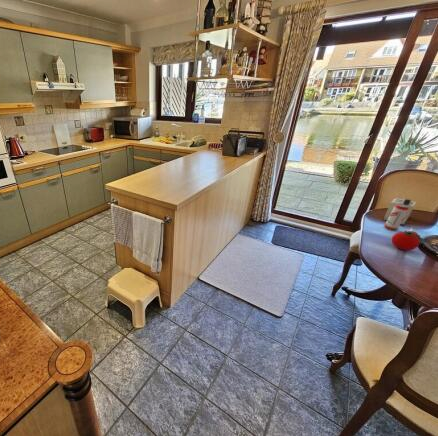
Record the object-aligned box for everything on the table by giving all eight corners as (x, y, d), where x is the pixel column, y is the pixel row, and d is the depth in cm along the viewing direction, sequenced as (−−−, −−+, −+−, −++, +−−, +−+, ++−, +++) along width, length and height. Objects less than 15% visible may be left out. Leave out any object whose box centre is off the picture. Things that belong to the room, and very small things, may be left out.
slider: (409, 204, 154) (411, 199, 153) (408, 205, 153) (410, 200, 152) (403, 203, 156) (406, 198, 155) (403, 204, 155) (405, 199, 153)
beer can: (393, 227, 155) (406, 204, 147) (399, 232, 149) (412, 208, 142) (381, 225, 156) (393, 202, 149) (386, 230, 151) (399, 206, 144)
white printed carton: (407, 220, 163) (416, 202, 157) (403, 225, 156) (412, 207, 151) (387, 215, 170) (395, 197, 165) (382, 220, 164) (390, 202, 158)
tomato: (383, 243, 138) (391, 227, 133) (399, 242, 139) (408, 227, 134) (401, 254, 128) (411, 238, 124) (419, 253, 129) (429, 237, 125)
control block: (422, 241, 139) (425, 235, 137) (419, 246, 135) (423, 240, 133) (398, 235, 146) (401, 229, 144) (395, 239, 142) (398, 233, 140)
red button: (417, 235, 138) (418, 232, 138) (415, 237, 136) (417, 235, 135) (407, 232, 141) (408, 230, 141) (405, 234, 139) (407, 232, 138)
